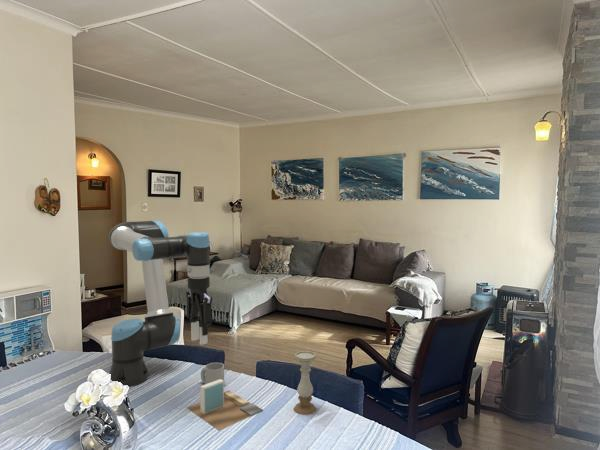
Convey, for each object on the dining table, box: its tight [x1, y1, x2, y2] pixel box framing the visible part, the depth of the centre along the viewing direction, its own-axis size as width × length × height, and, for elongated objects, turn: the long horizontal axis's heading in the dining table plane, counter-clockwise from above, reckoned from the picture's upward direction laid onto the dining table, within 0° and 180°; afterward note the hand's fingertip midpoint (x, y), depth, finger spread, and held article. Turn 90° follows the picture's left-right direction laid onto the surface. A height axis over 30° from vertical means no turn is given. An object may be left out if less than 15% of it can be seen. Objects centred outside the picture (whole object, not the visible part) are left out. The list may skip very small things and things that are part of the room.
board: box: [186, 397, 265, 431], centre depth 146 cm, size 20×18×1 cm
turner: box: [224, 389, 264, 417], centre depth 150 cm, size 18×5×2 cm, turn 44°
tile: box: [199, 379, 225, 414], centre depth 146 cm, size 2×8×9 cm, turn 134°
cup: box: [200, 362, 225, 385], centre depth 164 cm, size 7×10×9 cm
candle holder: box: [293, 350, 318, 416], centre depth 146 cm, size 9×9×20 cm
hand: (199, 341), depth 151 cm, fingers open, 5 cm apart
